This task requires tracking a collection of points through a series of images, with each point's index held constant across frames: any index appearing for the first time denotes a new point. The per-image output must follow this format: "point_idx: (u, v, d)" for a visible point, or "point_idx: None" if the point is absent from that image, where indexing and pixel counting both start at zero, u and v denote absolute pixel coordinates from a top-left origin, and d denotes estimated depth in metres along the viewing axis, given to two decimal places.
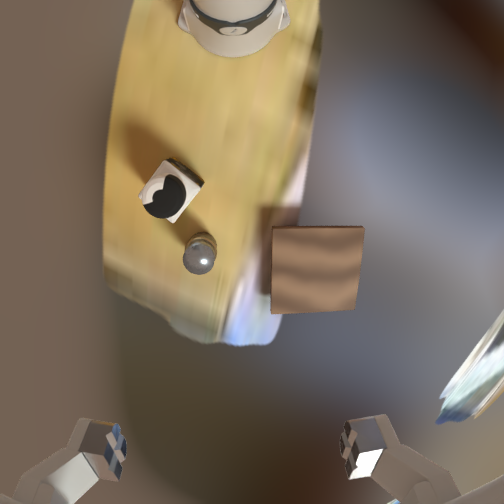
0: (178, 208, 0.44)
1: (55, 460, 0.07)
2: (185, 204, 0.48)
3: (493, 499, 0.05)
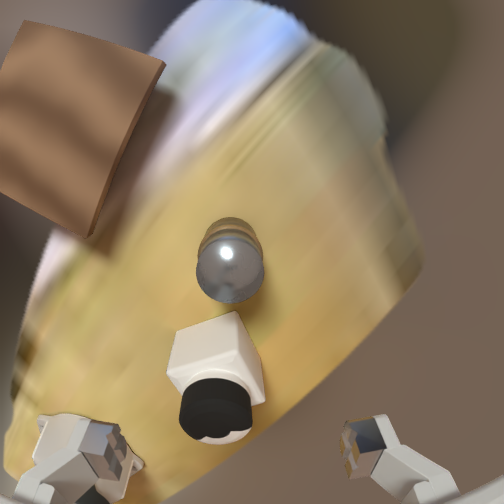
0: (196, 405, 0.23)
1: (55, 460, 0.07)
2: (199, 366, 0.27)
3: (493, 499, 0.05)
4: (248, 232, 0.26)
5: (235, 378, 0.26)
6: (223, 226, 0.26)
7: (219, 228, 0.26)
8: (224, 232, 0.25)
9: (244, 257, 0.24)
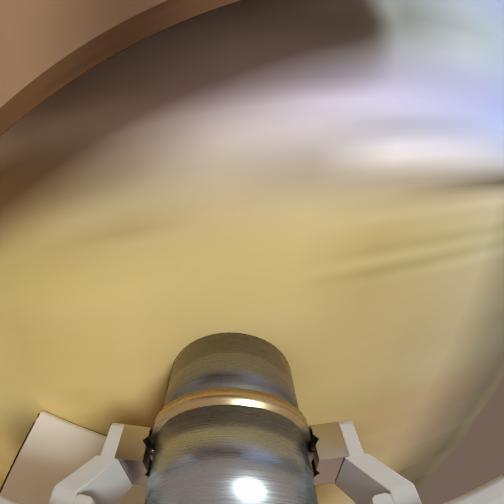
0: None
1: (90, 469, 0.07)
2: None
3: (493, 499, 0.05)
4: (308, 436, 0.09)
5: None
6: (273, 403, 0.09)
7: (262, 404, 0.09)
8: (275, 436, 0.08)
9: None
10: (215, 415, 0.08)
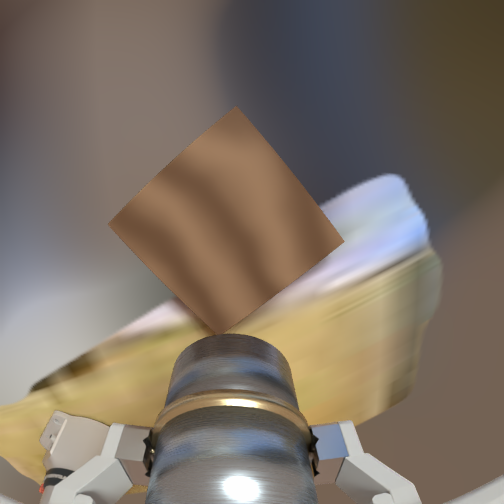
0: None
1: (90, 469, 0.07)
2: None
3: (493, 499, 0.05)
4: (308, 437, 0.09)
5: None
6: (273, 404, 0.09)
7: (263, 405, 0.09)
8: (276, 437, 0.08)
9: None
10: (216, 416, 0.08)
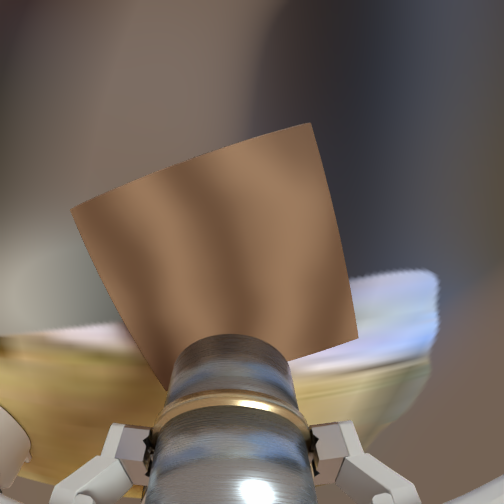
0: None
1: (90, 469, 0.07)
2: None
3: (493, 499, 0.05)
4: (308, 437, 0.09)
5: None
6: (273, 404, 0.09)
7: (262, 405, 0.09)
8: (275, 437, 0.08)
9: None
10: (215, 416, 0.08)
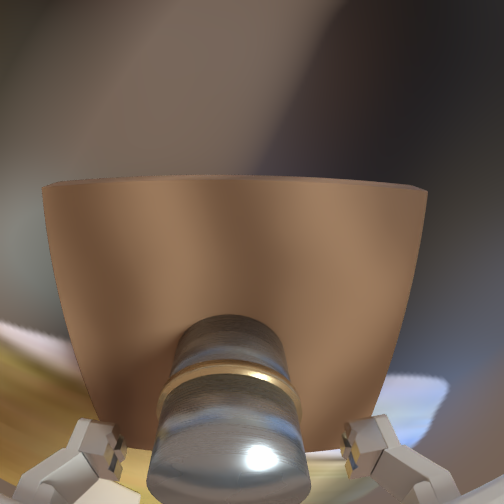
0: None
1: (55, 460, 0.07)
2: None
3: (493, 499, 0.05)
4: (299, 407, 0.11)
5: None
6: (266, 373, 0.10)
7: (257, 373, 0.10)
8: (268, 401, 0.09)
9: (282, 490, 0.08)
10: (215, 382, 0.10)
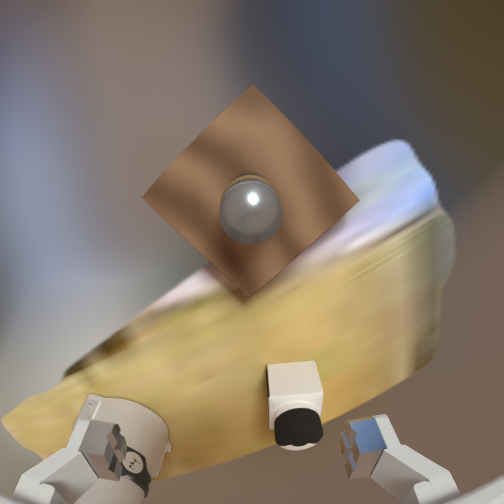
0: (298, 425, 0.34)
1: (55, 460, 0.07)
2: (295, 398, 0.38)
3: (493, 499, 0.05)
4: (265, 180, 0.28)
5: (316, 409, 0.38)
6: (242, 176, 0.28)
7: (238, 178, 0.28)
8: (243, 180, 0.27)
9: (263, 198, 0.25)
10: (227, 189, 0.28)
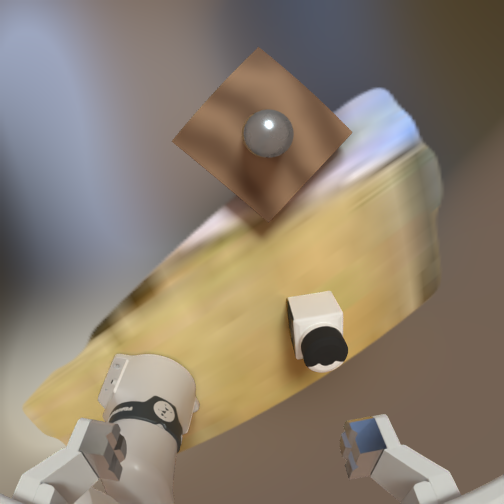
0: (324, 340, 0.39)
1: (55, 460, 0.07)
2: (317, 319, 0.43)
3: (493, 499, 0.05)
4: None
5: (338, 329, 0.43)
6: None
7: (255, 113, 0.33)
8: None
9: (277, 120, 0.31)
10: (247, 121, 0.33)
